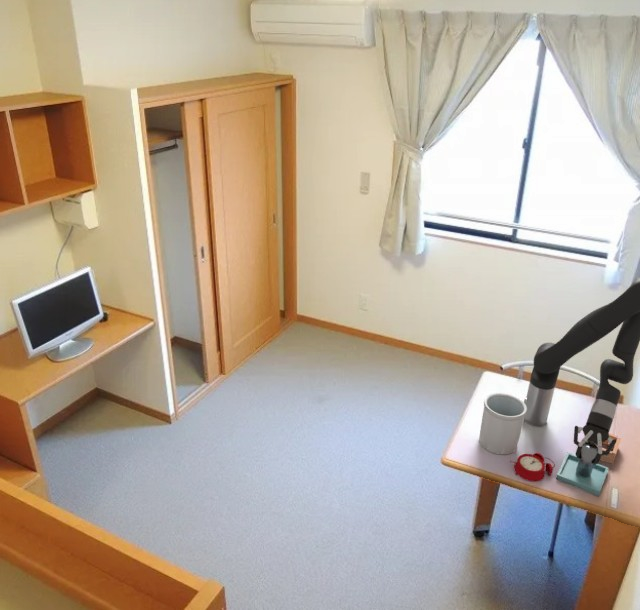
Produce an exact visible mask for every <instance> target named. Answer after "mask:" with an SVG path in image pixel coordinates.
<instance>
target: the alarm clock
mask: <svg viewBox="0 0 640 610" xmlns="http://www.w3.org/2000/svg"><path fill="white" fill-rule="evenodd" d="M545 459H548V460H549V461H551V462H552V463H553V466H552V464H551V463H549V462H546V463H545ZM509 463H512V460H510V461H509ZM513 463H514V464H513V471H514V474H515V476H519V477H520V478H522V479H523V480H525V481H529V482H541V481H542V480H543V479H544V478H545V476H546V472H547V473H549V474H547V476H548V477H549V476H552V474H553V470H554V469H555V467H556V464H555V462H554V461H553V460H552V459H551V458H549V457H544V456H543V455H542V454H541V453H539V452H535V453H533V454H531V453H523V454H521V455H518V458H517V460H516V461H513Z"/></svg>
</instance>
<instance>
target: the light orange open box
mask: <svg viewBox="0 0 640 610" xmlns="http://www.w3.org/2000/svg"><path fill="white" fill-rule="evenodd" d="M584 437H585V435H584V436H583V438H584ZM609 437H610V438H612V439H615V440H616V444H615V445H614V447H613V448H612V450H611V451H610V453H609V454H608V455H607V456H606V455H602V456H601V458H600V461H603V462H605V463H608V464H610V463H611V464H613V463H614V461H615V459H616V455H617V453H618V450H619V446H620V444H621V442H622V438H621V437H619V436H618V435H615V434H613V433H610V432H609ZM587 442H589V441H587ZM608 442H609V440H608V439H607V440H606V441H604V442H603V443H602V444H603V445H606V446H609V445H610V444H609V443H608ZM596 446H597V447H598V445H596ZM606 449H607V448H604V447H602V451H606ZM597 454H598V453H597Z"/></svg>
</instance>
